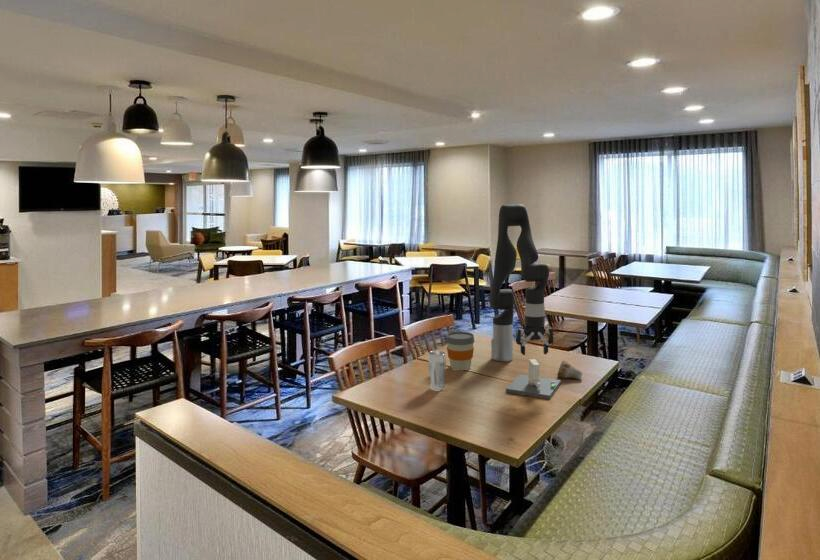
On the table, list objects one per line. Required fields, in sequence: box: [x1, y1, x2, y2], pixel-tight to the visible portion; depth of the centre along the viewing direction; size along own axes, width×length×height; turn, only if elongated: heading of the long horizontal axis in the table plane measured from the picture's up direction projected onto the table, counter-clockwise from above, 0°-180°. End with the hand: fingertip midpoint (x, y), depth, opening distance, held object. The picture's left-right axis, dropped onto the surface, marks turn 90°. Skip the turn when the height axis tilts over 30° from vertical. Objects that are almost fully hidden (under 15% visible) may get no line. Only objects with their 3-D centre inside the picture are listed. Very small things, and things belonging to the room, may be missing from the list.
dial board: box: [505, 374, 562, 400], centre depth 206 cm, size 17×18×2 cm
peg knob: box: [527, 358, 541, 387], centre depth 204 cm, size 10×4×9 cm, turn 1°
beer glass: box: [427, 350, 447, 391], centre depth 207 cm, size 7×7×15 cm
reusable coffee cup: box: [445, 331, 475, 371], centre depth 232 cm, size 13×13×15 cm
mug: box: [556, 360, 583, 380], centre depth 217 cm, size 8×10×10 cm
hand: (534, 354), depth 204 cm, fingers open, 8 cm apart
